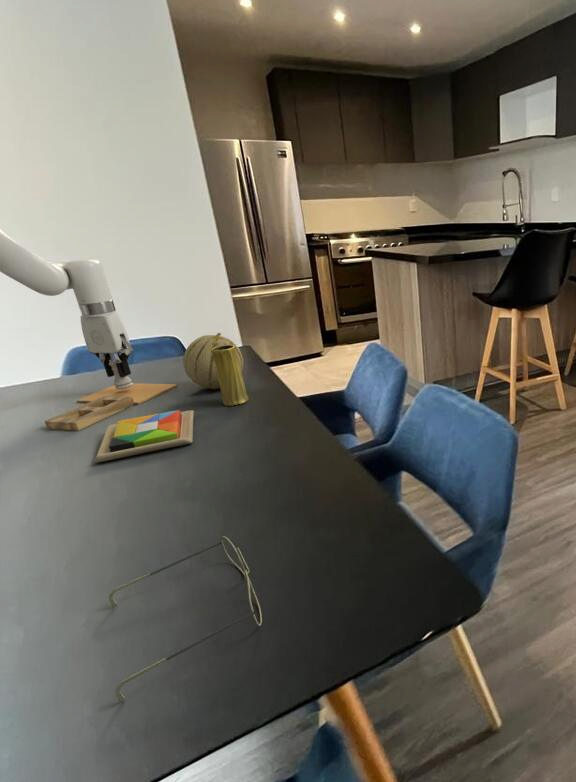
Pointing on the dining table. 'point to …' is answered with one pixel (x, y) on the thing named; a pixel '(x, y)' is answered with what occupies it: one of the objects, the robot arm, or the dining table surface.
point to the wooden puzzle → (146, 435)
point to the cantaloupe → (206, 360)
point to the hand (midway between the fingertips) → (119, 374)
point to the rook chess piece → (119, 381)
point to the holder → (89, 413)
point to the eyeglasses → (113, 604)
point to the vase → (229, 375)
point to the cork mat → (132, 392)
